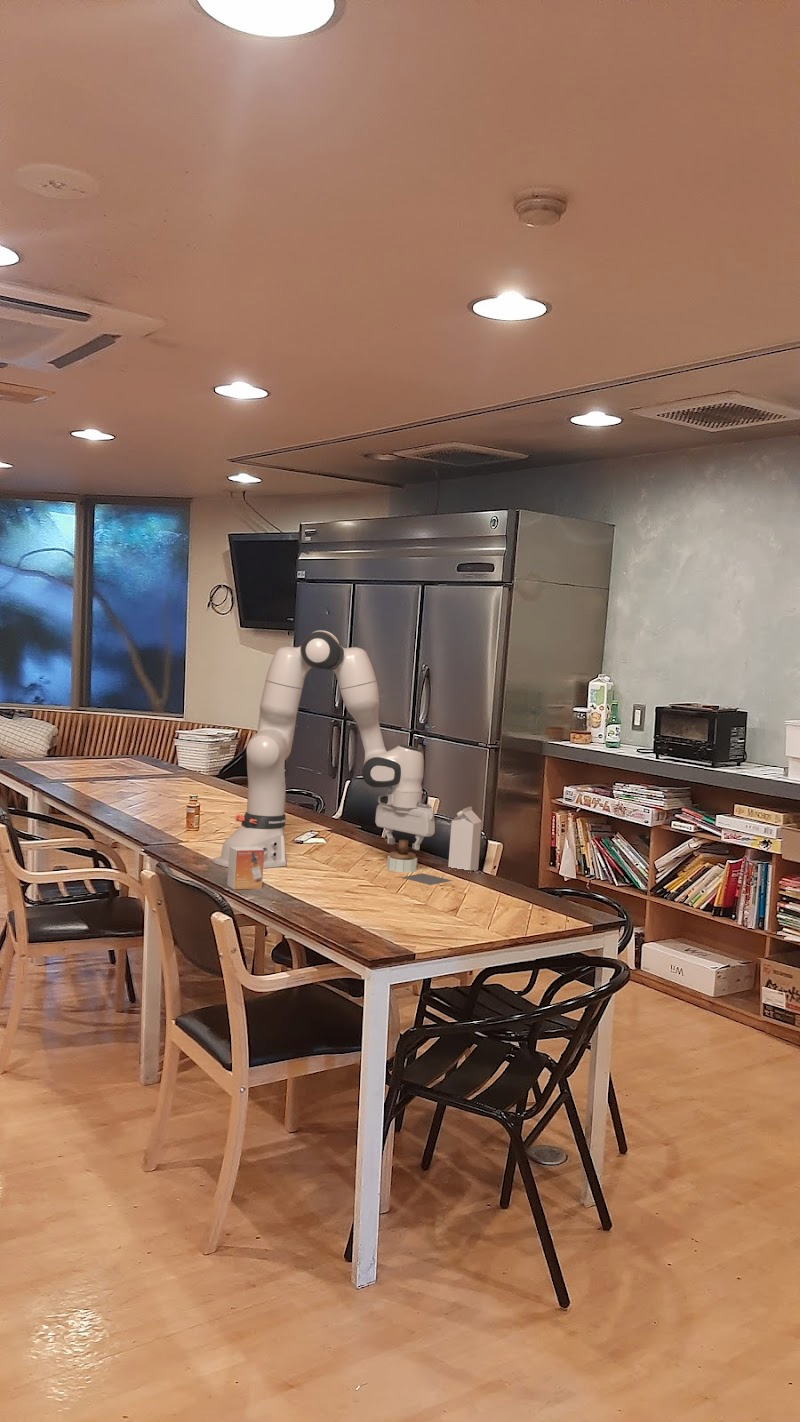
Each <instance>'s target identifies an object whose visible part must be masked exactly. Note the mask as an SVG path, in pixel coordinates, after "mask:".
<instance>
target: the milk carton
mask: <svg viewBox="0 0 800 1422" xmlns="http://www.w3.org/2000/svg"><path fill="white" fill-rule="evenodd" d="M482 822H483V821H482V820H481V818H479V816H478V815H477V814H476V813H475V812H474V811H473V806H468V807H465V808H463V809H462V810H460V811H458V812H457V813H456V817H455V818H454V819H452V820H451V824H450V825H451V826H450V836H449V837H450V839H449V852H448V863H447V864H448V865H447V866H448V867H451V868H457V869H464V870H470V871H471V870H474V872H476V871H478V870H479V864H480V863H479V861H480V850H481V837H482V834H481V833H482ZM448 867H447V868H448Z"/></svg>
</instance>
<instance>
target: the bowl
mask: <svg viewBox="0 0 800 1422" xmlns="http://www.w3.org/2000/svg"><path fill="white" fill-rule="evenodd" d="M386 862H387V863H386V870H388V871H389V872H390V871H391V872H395V873H401V874H403V873H406V874H409V873H416V872H417V870H418V857H417V856H416V857H415V859H412V860H400V859H394V858H391V857H390V854H389V855H387V861H386Z"/></svg>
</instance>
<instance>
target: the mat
mask: <svg viewBox="0 0 800 1422" xmlns="http://www.w3.org/2000/svg"><path fill="white" fill-rule="evenodd" d="M400 878H401V879H403V880H408V881H411V882H412V881H413V882H416V883H417V882H418V883H420V884H421V883H422V884H425V885H428V886H429V885H430V886H434V885H437V884H443V883H447V882H452V881H453V880H452V879H448V878H444V877H440V876H435V875H431V874H428V873H422V872H421V873H417V874H412V875H406V876H401V877H400Z"/></svg>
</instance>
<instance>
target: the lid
mask: <svg viewBox="0 0 800 1422" xmlns="http://www.w3.org/2000/svg"><path fill="white" fill-rule="evenodd" d="M408 850H409V840H408V839H399V840H398V850H395V851H389V855H390V857H391V858H394V859H400V860H412V859H415V857H417V856H416V853H414V852H411V851H408Z"/></svg>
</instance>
